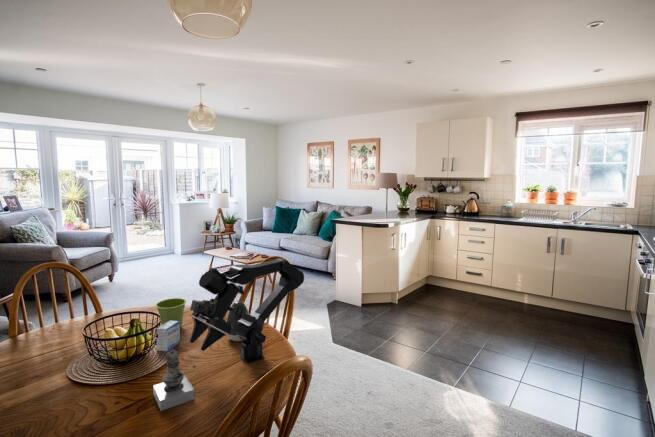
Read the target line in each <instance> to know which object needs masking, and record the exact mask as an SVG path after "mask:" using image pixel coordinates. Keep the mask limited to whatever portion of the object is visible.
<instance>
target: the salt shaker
mask: <svg viewBox="0 0 655 437" xmlns="http://www.w3.org/2000/svg"><path fill="white" fill-rule="evenodd" d="M166 359H167V362H166V364H165V365H166V367H167V372H166V373H164V374H163V376H162V379H161V380H162V381H163V382H164V383H165V385H166V386H165V388H164V391H165V392H167V393H173V392H177V391H179V390H181V389H182V388H183V387H184V384H183V383H182V380H183V377H184V376H185V372H184V371H183V370H180V363H181V362H180V360H179V352H178V351H177V350H174V347H173V348H172V349H170V350H169V351H168V352H167V354H166Z"/></svg>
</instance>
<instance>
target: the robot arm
mask: <svg viewBox="0 0 655 437" xmlns="http://www.w3.org/2000/svg"><path fill="white" fill-rule="evenodd" d="M273 273H278V274H279V275H280V277H279V281H278V284H277V285H276V287H275V288H274V289H273V290H272V291H271V292H270V293H269V294H268V296H267V297H266V298H265V299H264V300H263V302H262V303H261V304H260V305H259V306H258V307H257V309H256V310H254V312H252V313H249V314H247V313H245V314H244V315H243V317H242V318H241V319H240V320H239V321H238V322H239V323H238V324H237V325H236V334H237V335H238V336H239V338H240V339H242V340H243V341H241V342H242V343H241V344H242V345H241V346H240V358H242V359H243V360H244V361H245V363H247V364H250V363H254V362H258V361H259V360H263V359H265V355H263V344H264V343H266V342H265V341H266V338H267V336H266V335H265V334H263V333H262V331H263V329H264V325H265V322H266V320H267V319H268V318H269V317H270V316H271V314H273V312H274V311H275V309H276V308H277V307H278V306H279V304H281V302H282V301H283V300H284V299H285V298H286V297H287V295H288V294H289V293H291V292H292V291H294V290H297V289H299V287H300V286H301V285H302V284H303V283H304V282H305V274H304V272H303V271H302V270H299V269H298V268H297V267H295V266H294V265H292V264H291V263H290V262H289V261H288V260H286V259H283V258H276V259H272V260H269V261H264V262H260V263H256V264H233V265H231V266H230V267H229V269H226V270H224V271H223V272H222V271H221V272H220V271H219V270H218V269H217V268H216V267H210V269H209V270H207V271H206V272H204V274H202V275H201V276H200V277H199V280H198V285H199V287H201V288H203V289H204V290H206V291H207V292H209V293H211V294H213V295H216V296H215V297H214V298H210V299H209V300H206V299H203V300H197V299H195V300H194V299H192V302H191V304H190V309H189V311H192V314H191V317H192V320H193V323H194V324H193V329H192V333H191V335H190V339H189V343H191V344H194V343H195V342H196V341H198V339H199V338H200V337H201V336H202V335H203V334H204V333H205V332H206V331H208V332H207V334H206V336H205V338H204V340H203V342H202V345H201V347H200V350H201V351H206V350H207V349H208V348H209V347H211V346H212V345H213V344H215V343H216V342H217V341H219V340H220V339H222V338H223V337H226V336H227V333H228V334H230V332H231V331H232V325H231V324H230V323H228V322H226V319H224V318H225V317H226V315H227V314H228V312H229V311H231V310H232V308H230V307H231V306H232V304H233V303H234V302H235V299H236V298H237V296H238V295H239V294H240V295H243V296H244V295H245V292H244V287H243V286H244V285H247V284H249V283H251V282H253V281H254V280H256V279H257V278H259V277H262V276H266V275H270V274H273ZM237 284H238V285H237Z"/></svg>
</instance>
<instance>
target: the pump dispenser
mask: <svg viewBox="0 0 655 437" xmlns="http://www.w3.org/2000/svg"><path fill="white" fill-rule="evenodd" d="M230 308H232V310H231V311H228V312H227V317H226V319H225V321H226V322H228V323H230V324H231V325H232V331H231V332H230V334H228V333H226V334H227V335H226V336H227V338H229V340H231V341H233V342H242V341H243V340H242V339H240V338H239V336H238V335H237V334H236V325H237V324H238V323H239V322H238V321H239V320H240V319H241V318H242V317H243V315H244V314H245V313H247V314H250V312H249V310H248V308H247V305H246V304H245V303H244V302H243V301H239V300H238V301H233V303H232V305H231V306H230Z"/></svg>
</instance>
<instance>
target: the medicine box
mask: <svg viewBox="0 0 655 437" xmlns="http://www.w3.org/2000/svg"><path fill="white" fill-rule="evenodd" d="M158 327H159V328H158ZM158 327H156V329H157V334H158V338H157V337H156V350H157V351H161V352H167V351H168V352H170V351H171V348H173V349H174V347H176V346H177V345H179V343H181V336H180V335H181V333H180V331H181V330H180V329H181V328H180V329H179V321H168V322H166V323H165V324H163V325H162V324H161V325H160V326H158Z"/></svg>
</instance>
